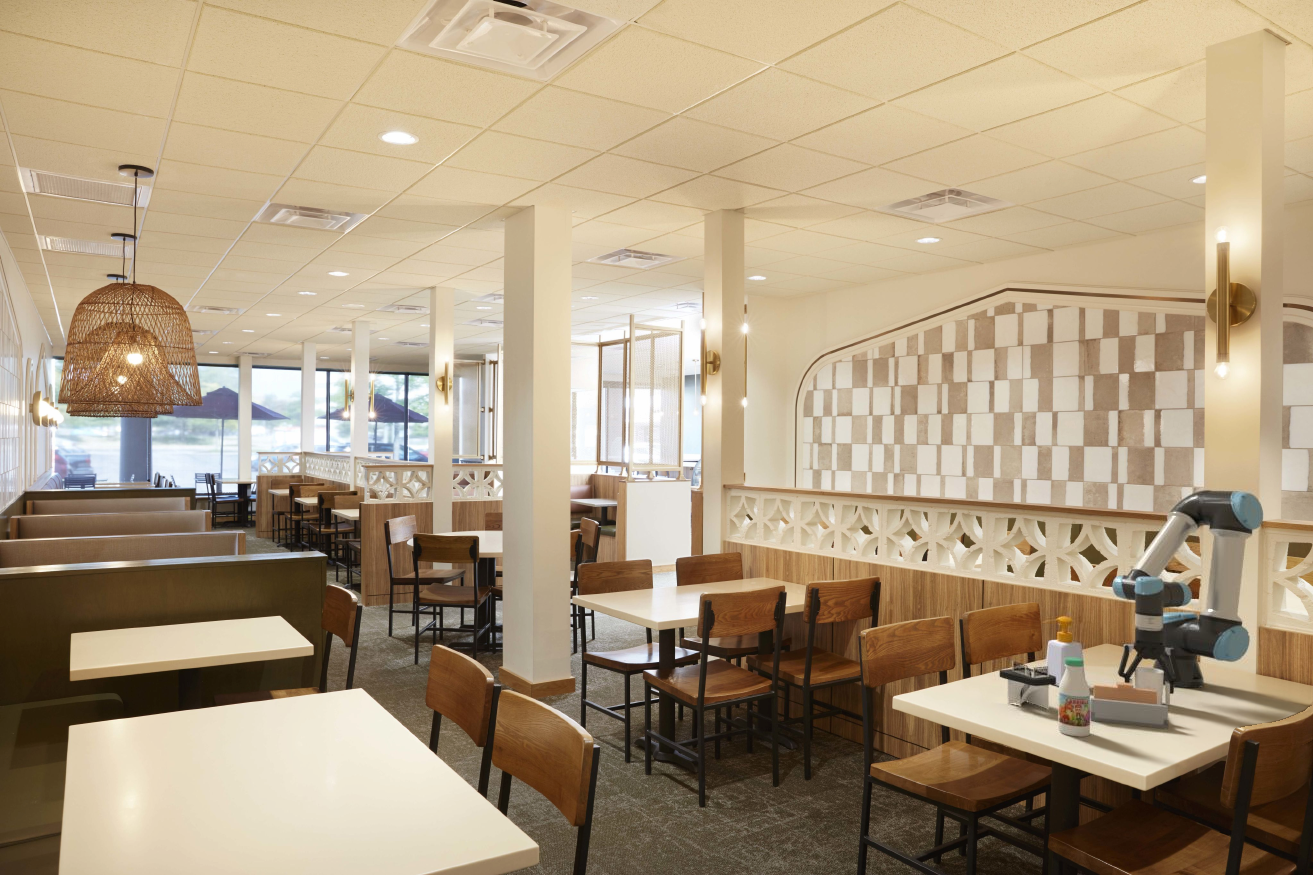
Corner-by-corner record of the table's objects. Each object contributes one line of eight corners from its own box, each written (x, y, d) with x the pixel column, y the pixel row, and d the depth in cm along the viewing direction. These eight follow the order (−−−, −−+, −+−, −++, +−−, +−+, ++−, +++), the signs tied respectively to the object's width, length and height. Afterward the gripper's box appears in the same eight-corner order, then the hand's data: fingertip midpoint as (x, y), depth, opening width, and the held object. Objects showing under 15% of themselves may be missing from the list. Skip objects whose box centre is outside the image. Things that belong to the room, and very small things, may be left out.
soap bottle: (1031, 682, 287) (1031, 615, 288) (1065, 679, 292) (1065, 613, 292) (1053, 690, 278) (1053, 620, 279) (1087, 687, 283) (1087, 618, 283)
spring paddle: (1155, 714, 249) (1155, 685, 249) (1157, 716, 246) (1157, 687, 246) (1093, 707, 255) (1093, 679, 255) (1094, 710, 252) (1094, 681, 252)
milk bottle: (1052, 728, 239) (1052, 655, 239) (1079, 727, 240) (1079, 655, 240) (1068, 737, 231) (1068, 662, 232) (1096, 737, 232) (1096, 661, 232)
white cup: (1156, 699, 269) (1156, 667, 269) (1168, 707, 261) (1168, 673, 261) (1129, 698, 270) (1129, 666, 270) (1141, 706, 262) (1141, 672, 262)
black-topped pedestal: (960, 699, 268) (960, 656, 269) (1026, 691, 278) (1026, 649, 278) (1029, 726, 242) (1029, 678, 242) (1100, 716, 252) (1100, 670, 252)
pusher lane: (1155, 710, 258) (1155, 689, 258) (1167, 728, 240) (1167, 706, 240) (1084, 702, 264) (1084, 682, 265) (1091, 720, 247) (1091, 699, 247)
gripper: (1110, 627, 266) (1110, 701, 266) (1193, 633, 258) (1193, 709, 258) (1107, 623, 273) (1107, 694, 273) (1187, 628, 265) (1187, 703, 265)
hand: (1148, 702), depth 265 cm, fingers open, 9 cm apart
